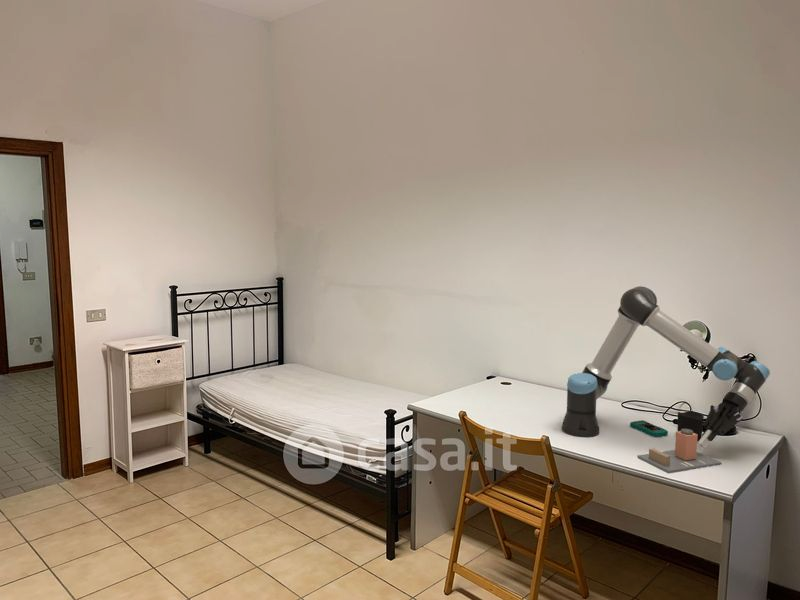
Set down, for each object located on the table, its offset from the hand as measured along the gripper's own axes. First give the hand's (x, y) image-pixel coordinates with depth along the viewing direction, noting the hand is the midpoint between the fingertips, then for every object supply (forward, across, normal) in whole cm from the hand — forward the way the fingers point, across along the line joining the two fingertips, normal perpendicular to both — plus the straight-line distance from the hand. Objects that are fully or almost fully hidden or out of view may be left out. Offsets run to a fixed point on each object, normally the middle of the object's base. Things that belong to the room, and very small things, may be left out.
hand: (701, 445), depth 213 cm
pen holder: (-6, +18, -13) cm, 23 cm away
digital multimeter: (+1, +30, -6) cm, 31 cm away
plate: (+10, 0, +4) cm, 11 cm away
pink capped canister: (+7, 0, +3) cm, 8 cm away
